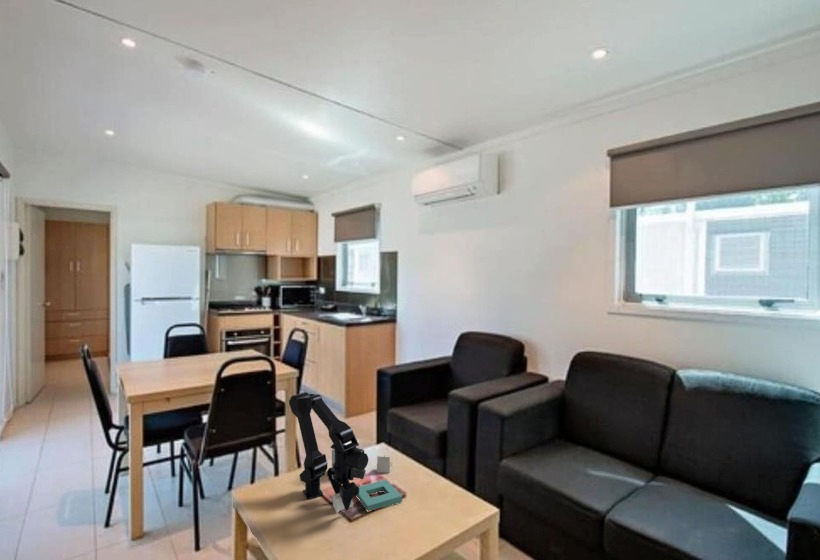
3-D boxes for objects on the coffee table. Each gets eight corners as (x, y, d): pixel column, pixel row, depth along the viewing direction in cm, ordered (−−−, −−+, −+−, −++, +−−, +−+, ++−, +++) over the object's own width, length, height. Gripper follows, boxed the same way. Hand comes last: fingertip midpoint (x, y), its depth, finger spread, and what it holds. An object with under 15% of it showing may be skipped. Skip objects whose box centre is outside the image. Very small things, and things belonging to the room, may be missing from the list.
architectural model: (378, 469, 185) (378, 452, 184) (393, 470, 184) (393, 453, 183) (376, 473, 181) (376, 456, 181) (392, 474, 180) (392, 457, 180)
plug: (333, 507, 154) (333, 494, 154) (348, 503, 157) (348, 490, 157) (336, 513, 151) (336, 499, 151) (352, 509, 154) (352, 495, 154)
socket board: (353, 494, 164) (353, 487, 163) (386, 485, 170) (386, 479, 170) (367, 512, 151) (367, 505, 151) (402, 502, 158) (402, 495, 158)
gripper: (372, 467, 149) (372, 510, 150) (354, 447, 166) (354, 486, 166) (343, 475, 144) (343, 519, 144) (326, 453, 160) (326, 493, 161)
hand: (342, 503), depth 154 cm, fingers open, 9 cm apart
